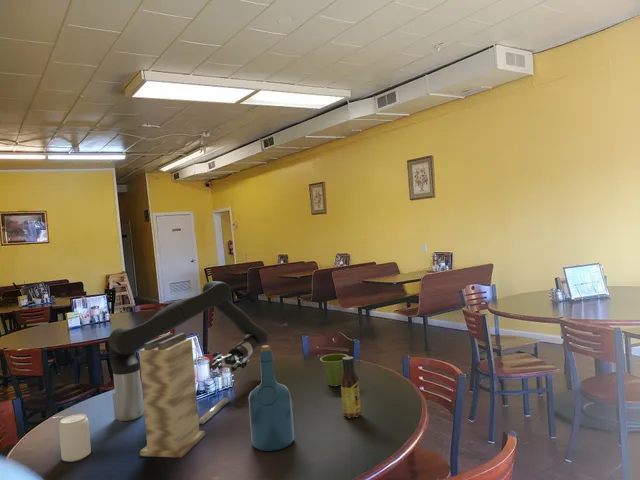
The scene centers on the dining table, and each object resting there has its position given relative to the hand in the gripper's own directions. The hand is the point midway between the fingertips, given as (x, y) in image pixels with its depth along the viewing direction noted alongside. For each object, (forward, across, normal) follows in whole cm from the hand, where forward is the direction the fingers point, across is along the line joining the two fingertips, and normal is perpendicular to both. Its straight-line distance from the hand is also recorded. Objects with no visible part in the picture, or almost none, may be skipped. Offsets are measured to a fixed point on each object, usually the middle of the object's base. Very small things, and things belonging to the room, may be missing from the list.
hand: (222, 368), depth 186 cm
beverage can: (+52, -23, +8) cm, 57 cm away
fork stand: (+40, +4, +7) cm, 41 cm away
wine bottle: (+34, +36, +6) cm, 50 cm away
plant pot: (-20, +41, +12) cm, 47 cm away
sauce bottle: (+11, +55, +7) cm, 57 cm away
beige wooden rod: (+14, +2, +10) cm, 18 cm away
